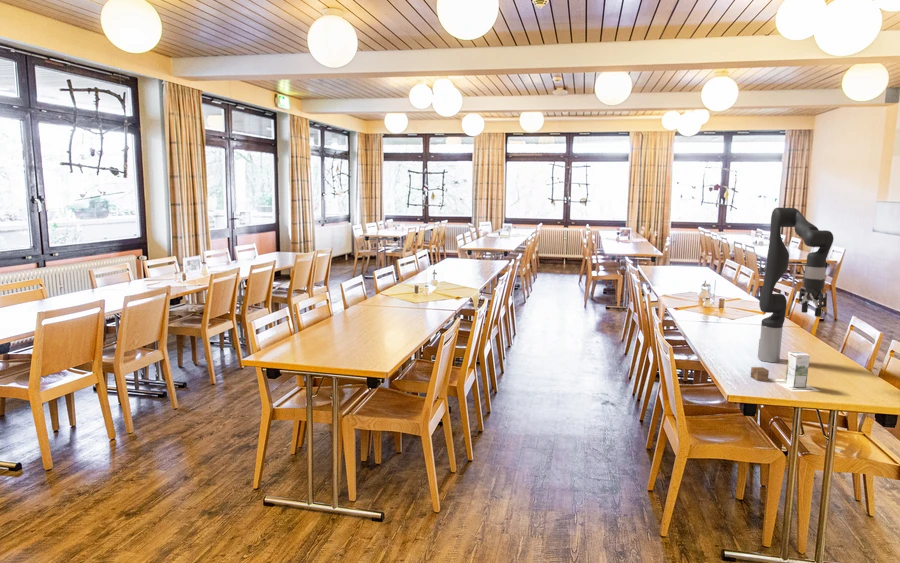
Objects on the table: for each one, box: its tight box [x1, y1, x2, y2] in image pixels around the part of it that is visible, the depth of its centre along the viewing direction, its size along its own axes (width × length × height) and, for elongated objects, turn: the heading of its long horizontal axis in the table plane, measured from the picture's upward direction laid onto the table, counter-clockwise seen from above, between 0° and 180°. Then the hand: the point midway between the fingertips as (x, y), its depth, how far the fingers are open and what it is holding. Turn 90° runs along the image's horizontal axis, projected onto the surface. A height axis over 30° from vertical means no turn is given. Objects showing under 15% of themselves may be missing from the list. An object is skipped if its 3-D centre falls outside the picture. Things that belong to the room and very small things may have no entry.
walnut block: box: [750, 366, 770, 382], centre depth 258 cm, size 5×5×5 cm
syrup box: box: [785, 351, 811, 388], centre depth 248 cm, size 6×6×14 cm
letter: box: [768, 378, 820, 393], centre depth 250 cm, size 16×12×1 cm
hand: (810, 314), depth 251 cm, fingers open, 8 cm apart
